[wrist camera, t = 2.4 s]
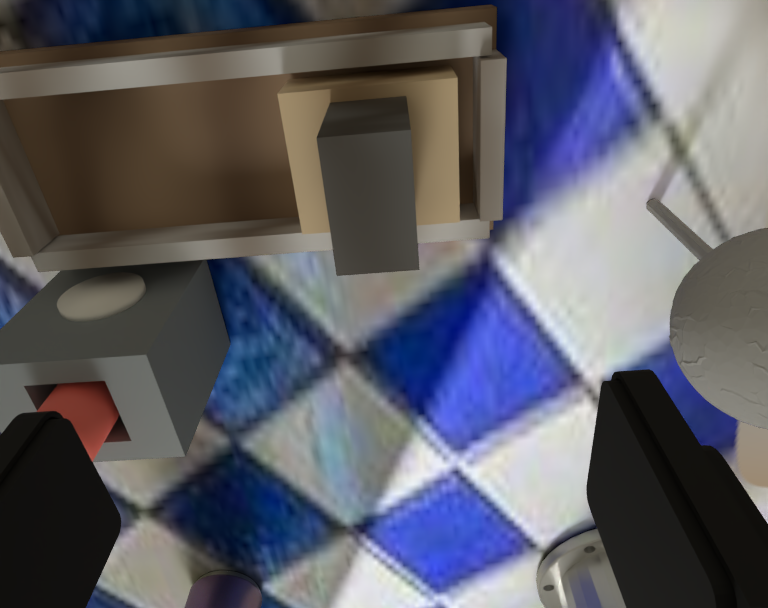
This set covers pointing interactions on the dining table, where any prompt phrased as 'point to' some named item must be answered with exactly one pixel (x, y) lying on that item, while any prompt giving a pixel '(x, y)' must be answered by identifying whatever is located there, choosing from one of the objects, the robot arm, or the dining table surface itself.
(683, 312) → the lollipop
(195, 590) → the beverage can
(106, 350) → the grey block
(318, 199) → the carriage
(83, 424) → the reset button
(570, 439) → the dining table surface
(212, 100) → the wooden tray
